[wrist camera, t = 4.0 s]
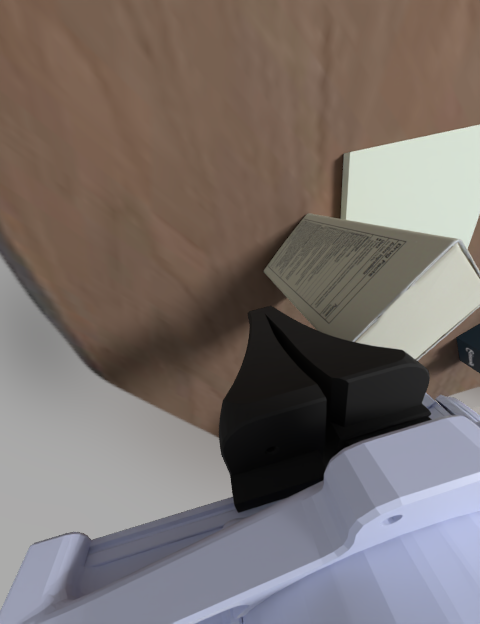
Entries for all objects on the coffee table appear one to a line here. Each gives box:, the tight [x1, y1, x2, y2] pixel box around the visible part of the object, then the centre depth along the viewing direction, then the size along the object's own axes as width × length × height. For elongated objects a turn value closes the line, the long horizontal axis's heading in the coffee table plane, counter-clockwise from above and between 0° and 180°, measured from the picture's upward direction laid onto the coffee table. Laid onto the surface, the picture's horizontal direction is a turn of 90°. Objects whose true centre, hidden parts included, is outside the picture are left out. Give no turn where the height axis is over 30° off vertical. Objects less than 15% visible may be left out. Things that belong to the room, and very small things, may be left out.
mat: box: [341, 125, 480, 249], centre depth 20 cm, size 14×13×1 cm
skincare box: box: [264, 214, 480, 361], centre depth 15 cm, size 6×4×12 cm
